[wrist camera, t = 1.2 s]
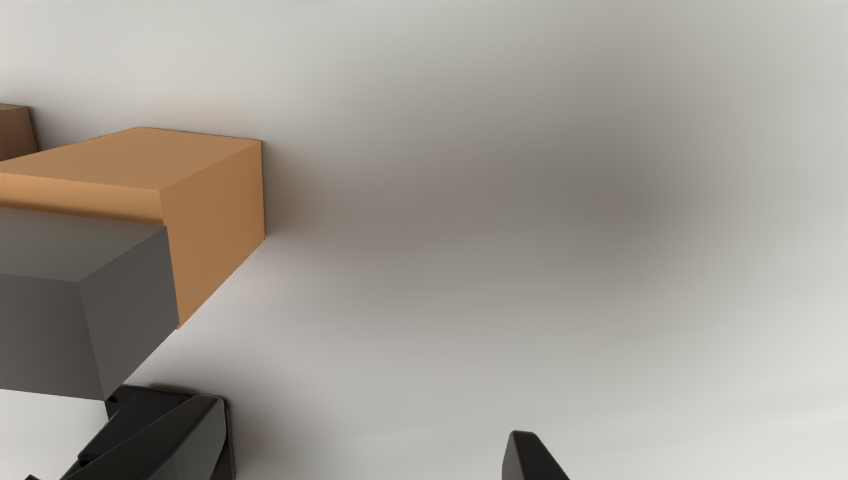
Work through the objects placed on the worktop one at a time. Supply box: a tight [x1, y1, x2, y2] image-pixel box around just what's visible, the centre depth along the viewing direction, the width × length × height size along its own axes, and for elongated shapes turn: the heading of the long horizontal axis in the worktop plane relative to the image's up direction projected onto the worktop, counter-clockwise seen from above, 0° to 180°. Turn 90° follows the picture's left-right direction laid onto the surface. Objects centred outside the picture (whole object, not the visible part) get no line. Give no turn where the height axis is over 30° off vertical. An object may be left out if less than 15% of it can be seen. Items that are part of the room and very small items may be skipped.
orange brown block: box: [0, 127, 265, 330], centre depth 16 cm, size 4×5×7 cm
